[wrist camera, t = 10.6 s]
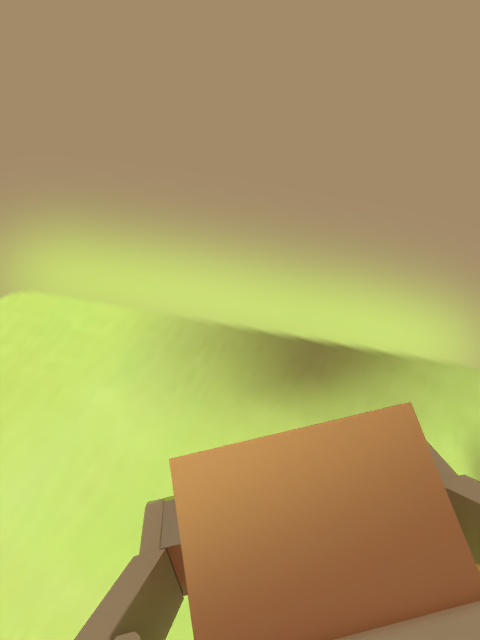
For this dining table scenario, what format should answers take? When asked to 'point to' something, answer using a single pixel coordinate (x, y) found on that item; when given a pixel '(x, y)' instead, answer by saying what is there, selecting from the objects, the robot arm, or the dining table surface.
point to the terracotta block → (319, 531)
